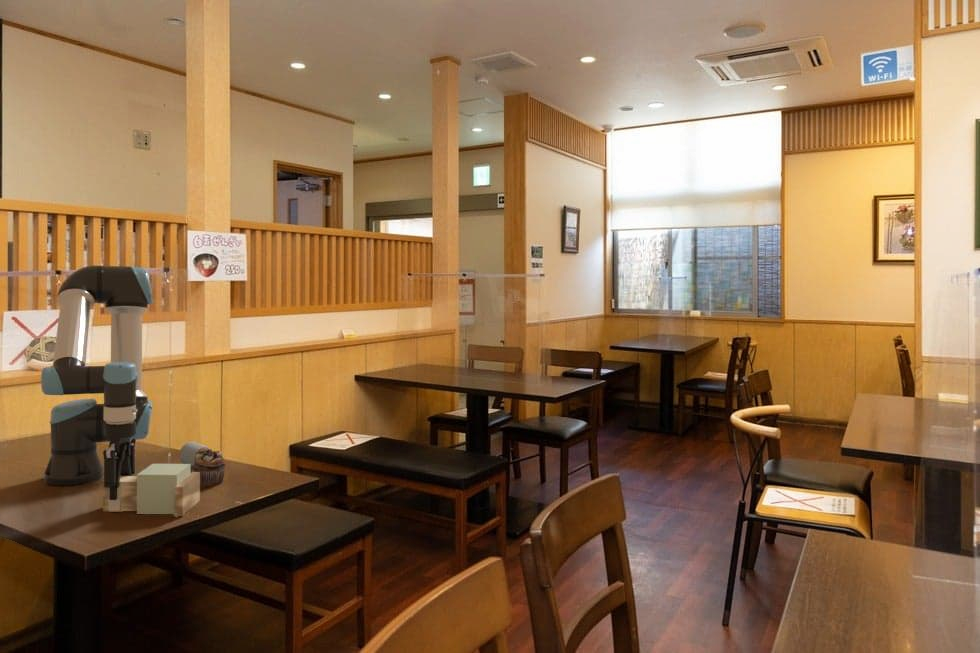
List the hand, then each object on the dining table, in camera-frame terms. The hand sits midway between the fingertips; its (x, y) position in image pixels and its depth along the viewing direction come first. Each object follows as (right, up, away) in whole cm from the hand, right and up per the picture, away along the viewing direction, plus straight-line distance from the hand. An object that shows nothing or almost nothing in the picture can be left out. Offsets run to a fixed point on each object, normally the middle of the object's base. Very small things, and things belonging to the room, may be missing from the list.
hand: (119, 506), depth 177 cm
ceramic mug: (+4, +2, +41) cm, 41 cm away
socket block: (+11, -1, +1) cm, 11 cm away
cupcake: (+14, +1, +24) cm, 27 cm away
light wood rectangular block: (+5, 0, +1) cm, 5 cm away
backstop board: (+17, -1, +2) cm, 17 cm away
